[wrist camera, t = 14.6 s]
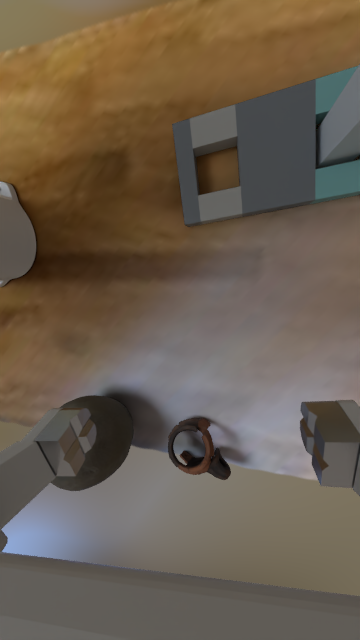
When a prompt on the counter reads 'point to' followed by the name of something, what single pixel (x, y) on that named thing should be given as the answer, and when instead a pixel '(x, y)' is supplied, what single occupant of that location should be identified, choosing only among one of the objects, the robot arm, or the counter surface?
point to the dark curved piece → (203, 464)
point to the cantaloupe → (101, 442)
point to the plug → (341, 127)
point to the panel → (265, 153)
